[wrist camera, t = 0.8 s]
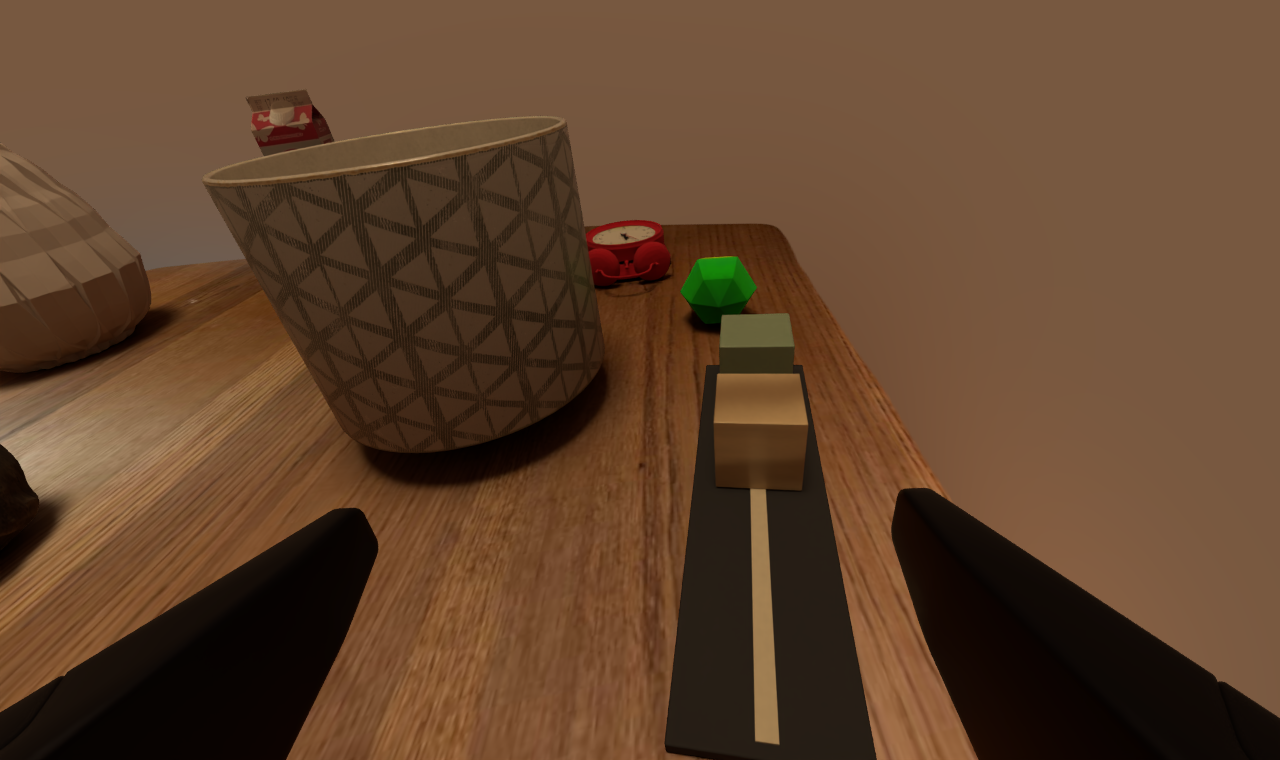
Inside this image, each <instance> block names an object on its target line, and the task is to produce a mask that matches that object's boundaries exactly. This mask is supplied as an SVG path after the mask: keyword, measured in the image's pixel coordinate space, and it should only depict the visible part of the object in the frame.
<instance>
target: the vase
mask: <svg viewBox="0 0 1280 760" xmlns="http://www.w3.org/2000/svg"><path fill="white" fill-rule="evenodd" d="M150 304H151V291H150V286H149V281H148V278H147V275H146V272H145V269H144V266H143V263H142V259H141V255H140V253H139V252H138V251H137V250H135V249H134V248H133V247H132V246H131V245H130V244H129V243H128V242H127V241H126V240H125V239H123V238H122V237H121V236H120V235H119V234H118V233H116V232H115V231H114V230H113V229H112V228H111V227H109V226H108V224H107V223H106V222H105V221H104V220H103V219H102V217H101V216H100V215H99V214H98V213H97V212H96V211H95V209H94V208H92V207H91V206H90V205H89V204H88V203H86V202H85V201H84V200H83V199H82V198H81V197H79V196H78V195H77V194H76V193H75V192H73V191H72V190H70V189H68V188H67V187H65V186H63V185H61V184H60V183H59V182H58V181H56V180H55V179H54V178H53V177H51V176H50V175H49V174H48V173H46V172H45V171H44V170H43V169H41V168H40V167H38V166H37V165H35V164H34V163H32V162H30V161H29V160H27V159H25V158H23V157H21V156H19V155H17V154H15V153H13V152H12V151H11V150H10V149H8V148H7V147H5V146H4V145H3V144H2V143H0V370H5V371H7V372H13V373H21V372H23V373H28V372H32V371H38V370H41V369H50V368H53V367H55V366H60V365H63V364H65V363H70V362H75V361H77V360H79V359H83V358H85V357H87V356H89V355H92V354H96V353H100V352H101V351H102V350H106V349H108V348H109V347H110V346H112V345H115V344H118V343H119V342H121V341H123V340H124V339H125V338H126V337H128V336H130V335H131V334H132V333H133V332H134V330H135V325H136V324H138V323H139V322H140V321H141V320H142V318H143V317H144V316H146V314H147V312H148V310H149V309H150Z"/></svg>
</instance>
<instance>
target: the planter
mask: <svg viewBox="0 0 1280 760" xmlns="http://www.w3.org/2000/svg"><path fill="white" fill-rule="evenodd" d="M202 181H203V184H204V185H205V187H206V189H207V191H208V193H209V194H210V196H211V198H212V200H213V201H214V203H215V205H216V207H217V209H218V210H219V212H220V214H221V215H222V217H223V219H224V221H225V223H226V224H227V226H228V228H229V230H230V231H231V233H232V235H233V237H234V238H235V240H236V242H237V244H238V246H239V247H240V249H241V251H242V253H243V254H244V256H245V258H246V260H247V262H248V263H249V265H250V267H251V269H252V270H253V272H254V274H255V276H256V277H257V279H258V281H259V283H260V285H261V286H262V288H263V290H264V292H265V293H266V295H267V297H268V299H269V300H270V302H271V304H272V306H273V308H274V309H275V311H276V313H277V315H278V316H279V318H280V320H281V322H282V323H283V325H284V327H285V329H286V331H287V332H288V334H289V336H290V338H291V339H292V341H293V343H294V345H295V346H296V348H297V350H298V352H299V354H300V355H301V357H302V359H303V361H304V362H305V364H306V366H307V368H308V369H309V371H310V373H311V375H312V377H313V378H314V380H315V382H316V384H317V385H318V387H319V389H320V391H321V392H322V394H323V396H324V398H325V400H326V401H327V403H328V405H329V407H330V408H331V410H332V412H333V414H334V415H335V417H336V419H337V421H338V423H339V424H340V426H341V427H342V429H343V430H344V431H345V432H346V433H347V434H348V435H349V436H350V437H351V438H353V439H354V440H356V441H357V442H359V443H361V444H363V445H366V446H368V447H372V448H375V449H379V450H384V451H389V452H399V453H428V452H439V451H447V450H453V449H458V448H464V447H468V446H472V445H477V444H481V443H484V442H488V441H491V440H494V439H497V438H500V437H503V436H506V435H509V434H511V433H514V432H516V431H519V430H521V429H523V428H526V427H528V426H530V425H532V424H534V423H536V422H538V421H540V420H542V419H544V418H545V417H547V416H549V415H551V414H552V413H554V412H556V411H557V410H559V409H560V408H562V407H563V406H565V405H566V404H567V403H569V402H570V401H571V400H573V399H574V398H575V397H576V396H577V395H578V394H580V393H581V392H582V391H583V390H584V389H585V388H586V387H587V386H588V384H589V383H590V382H591V381H592V380H593V378H594V377H595V376H596V374H597V372H598V370H599V369H600V367H601V364H602V362H603V357H604V349H605V346H604V340H603V335H602V329H601V323H600V317H599V311H598V305H597V299H596V293H595V287H594V282H593V276H592V270H591V264H590V258H589V252H588V246H587V240H586V235H585V229H584V223H583V217H582V211H581V205H580V200H579V194H578V189H577V188H578V187H577V182H576V176H575V170H574V164H573V158H572V152H571V146H570V140H569V135H568V129H567V123H566V120H565V119H563V118H561V117H554V116H531V117H513V118H501V119H490V120H481V121H471V122H463V123H455V124H448V125H440V126H432V127H424V128H417V129H410V130H404V131H397V132H391V133H384V134H379V135H372V136H366V137H360V138H354V139H349V140H343V141H337V142H332V143H326V144H321V145H316V146H311V147H306V148H301V149H296V150H291V151H286V152H281V153H277V154H272V155H268V156H264V157H259V158H255V159H251V160H247V161H243V162H240V163H236V164H233V165H229V166H226V167H223V168H220V169H217V170H214V171H212V172H209V173H207V174H206V175H204V176H203V178H202Z"/></svg>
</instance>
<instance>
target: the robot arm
mask: <svg viewBox="0 0 1280 760" xmlns="http://www.w3.org/2000/svg"><path fill="white" fill-rule="evenodd" d="M891 533H892V540H893V544H894V547H895V550H896V553H897V556H898V559H899V562H900V565H901V568H902V572H903V575H904V578H905V581H906V584H907V587H908V590H909V593H910V596H911V599H912V602H913V605H914V608H915V611H916V615H917V618H918V621H919V624H920V626H921V629H922V632H923V635H924V638H925V640H926V643H927V645H928V647H929V650H930V652H931V655H932V657H933V659H934V661H935V664H936V666H937V668H938V670H939V672H940V675H941V677H942V679H943V681H944V684H945V686H946V688H947V690H948V693H949V695H950V697H951V699H952V701H953V704H954V706H955V708H956V710H957V713H958V715H959V717H960V719H961V722H962V724H963V726H964V728H965V730H966V733H967V735H968V737H969V739H970V742H971V744H972V746H973V748H974V751H975V753H976V755H977V757H978V759H979V760H1280V718H1279V717H1277V716H1276V715H1274V714H1273V713H1271V712H1269V711H1268V710H1267V709H1265V708H1263V707H1262V706H1260V705H1259V704H1257V703H1256V702H1254V701H1253V700H1251V699H1250V698H1248V697H1247V696H1245V695H1244V694H1242V693H1241V692H1239V691H1238V690H1236V689H1235V688H1233V687H1232V686H1230V685H1228V684H1227V683H1225V682H1217V679H1216V677H1215V676H1214V675H1213V674H1211V673H1210V672H1208V671H1207V670H1205V669H1204V668H1202V667H1201V666H1199V665H1198V664H1196V663H1195V662H1193V661H1192V660H1190V659H1189V658H1187V657H1185V656H1184V655H1182V654H1181V653H1179V652H1178V651H1176V650H1175V649H1173V648H1172V647H1170V646H1169V645H1167V644H1166V643H1164V642H1162V641H1161V640H1159V639H1158V638H1157V637H1155V636H1153V635H1152V634H1151V633H1149V632H1147V631H1146V630H1144V629H1143V628H1141V627H1140V626H1138V625H1137V624H1135V623H1134V622H1132V621H1131V620H1129V619H1128V618H1126V617H1125V616H1123V615H1122V614H1120V613H1118V612H1117V611H1115V610H1114V609H1113V608H1111V607H1109V606H1108V605H1106V604H1105V603H1103V602H1102V601H1100V600H1099V599H1097V598H1096V597H1094V596H1093V595H1091V594H1090V593H1088V592H1087V591H1085V590H1084V589H1082V588H1081V587H1079V586H1078V585H1076V584H1075V583H1073V582H1071V581H1070V580H1068V579H1067V578H1065V577H1064V576H1062V575H1061V574H1059V573H1058V572H1056V571H1055V570H1053V569H1052V568H1050V567H1048V566H1047V565H1046V564H1044V563H1043V562H1041V561H1039V560H1038V559H1036V558H1035V557H1033V556H1032V555H1030V554H1029V553H1027V552H1026V551H1024V550H1023V549H1021V548H1020V547H1018V546H1016V545H1015V544H1013V543H1012V542H1011V541H1009V540H1007V539H1006V538H1005V537H1003V536H1002V535H1000V534H998V533H997V532H995V531H994V530H992V529H991V528H989V527H988V526H986V525H985V524H983V523H982V522H980V521H978V520H977V519H976V518H974V517H973V516H971V515H970V514H968V513H967V512H965V511H963V510H962V509H960V508H959V507H957V506H956V505H954V504H953V503H951V502H950V501H948V500H947V499H945V498H944V497H942V496H941V495H939V494H938V493H936V492H935V491H933V490H931V489H928V488H909V489H903V490H901V491H900V492H899V493H898V496H897V501H896V506H895V511H894V516H893V521H892V527H891ZM377 553H378V541H377V538H376V536H375V534H374V532H373V530H372V528H371V526H370V524H369V522H368V521H367V519H366V517H365V515H364V513H363V512H362V511H361V510H360V509H357V508H339V509H334V510H332V511H330V512H328V513H327V514H325V515H323V516H322V517H320V518H319V519H317V520H315V521H314V522H312V523H310V524H309V525H307V526H305V527H304V528H302V529H301V530H299V531H297V532H296V533H294V534H292V535H291V536H289V537H287V538H286V539H284V540H283V541H281V542H279V543H278V544H276V545H274V546H273V547H271V548H269V549H268V550H266V551H265V552H263V553H261V554H260V555H258V556H256V557H255V558H253V559H251V560H250V561H248V562H247V563H245V564H243V565H242V566H240V567H238V568H237V569H235V570H233V571H232V572H230V573H229V574H227V575H225V576H224V577H222V578H220V579H219V580H217V581H215V582H214V583H212V584H211V585H209V586H207V587H206V588H204V589H202V590H201V591H199V592H197V593H196V594H194V595H192V596H191V597H189V598H188V599H186V600H184V601H183V602H181V603H179V604H178V605H176V606H174V607H173V608H171V609H170V610H168V611H166V612H165V613H163V614H161V615H160V616H158V617H156V618H155V619H153V620H152V621H150V622H148V623H147V624H145V625H143V626H142V627H140V628H138V629H137V630H135V631H134V632H132V633H130V634H129V635H127V636H125V637H124V638H122V639H120V640H119V641H117V642H116V643H114V644H112V645H111V646H109V647H107V648H106V649H104V650H102V651H101V652H99V653H98V654H96V655H94V656H93V657H91V658H89V659H88V660H86V661H84V662H83V663H81V664H80V665H78V666H76V667H75V668H73V669H71V670H70V671H68V672H67V673H66V675H65V676H60V677H58V678H56V679H55V680H53V681H51V682H50V683H48V684H46V685H45V686H43V687H42V688H40V689H38V690H37V691H35V692H33V693H32V694H30V695H29V696H27V697H25V698H24V699H22V700H20V701H19V702H17V703H15V704H14V705H12V706H10V707H9V708H7V709H5V710H4V711H2V712H0V760H286V759H287V757H288V755H289V753H290V751H291V749H292V746H293V744H294V742H295V740H296V738H297V736H298V734H299V732H300V730H301V728H302V726H303V724H304V722H305V720H306V718H307V716H308V714H309V712H310V710H311V708H312V706H313V704H314V702H315V700H316V698H317V695H318V693H319V691H320V689H321V687H322V685H323V683H324V681H325V679H326V677H327V675H328V673H329V671H330V669H331V667H332V665H333V663H334V661H335V659H336V657H337V655H338V653H339V650H340V648H341V646H342V644H343V642H344V639H345V637H346V635H347V632H348V630H349V627H350V625H351V622H352V620H353V617H354V614H355V612H356V609H357V607H358V604H359V601H360V599H361V596H362V593H363V591H364V588H365V586H366V583H367V580H368V578H369V575H370V573H371V570H372V567H373V565H374V562H375V559H376V557H377Z"/></svg>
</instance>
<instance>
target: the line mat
mask: <svg viewBox="0 0 1280 760" xmlns="http://www.w3.org/2000/svg"><path fill="white" fill-rule="evenodd" d="M717 374H720V365H707V366H706V375H705V384H704V393H703V402H702V411H701V420H700V429H699V438H698V447H697V456H696V465H695V474H694V483H693V492H692V501H691V510H690V519H689V528H688V537H687V546H686V555H685V564H684V573H683V582H682V591H681V600H680V609H679V618H678V627H677V636H676V645H675V654H674V663H673V672H672V681H671V690H670V699H669V708H668V717H667V726H666V735H665V748H666V751H667V752H673V753H679V754H686V755H692V756H698V757H705V758H711V759H717V760H877V759H876V753H875V748H874V743H873V737H872V732H871V727H870V721H869V716H868V711H867V706H866V700H865V695H864V690H863V684H862V679H861V674H860V668H859V663H858V658H857V653H856V647H855V642H854V637H853V631H852V626H851V621H850V615H849V610H848V605H847V600H846V594H845V589H844V584H843V578H842V573H841V568H840V562H839V557H838V552H837V547H836V541H835V536H834V531H833V525H832V520H831V515H830V509H829V504H828V499H827V494H826V488H825V483H824V478H823V472H822V467H821V462H820V456H819V451H818V446H817V441H816V435H815V430H814V425H813V419H812V414H811V409H810V403H809V398H808V393H807V388H806V382H805V377H804V372H803V366H802V365H793V374H799V375H800V380H801V386H802V391H803V397H804V403H805V409H806V414H807V420H808V433H807V443H806V453H805V463H804V473H803V484H802V490H801V491H797V490H775V489H754V488H733V487H716V478H715V450H714V410H715V397H716V384H717Z"/></svg>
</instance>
